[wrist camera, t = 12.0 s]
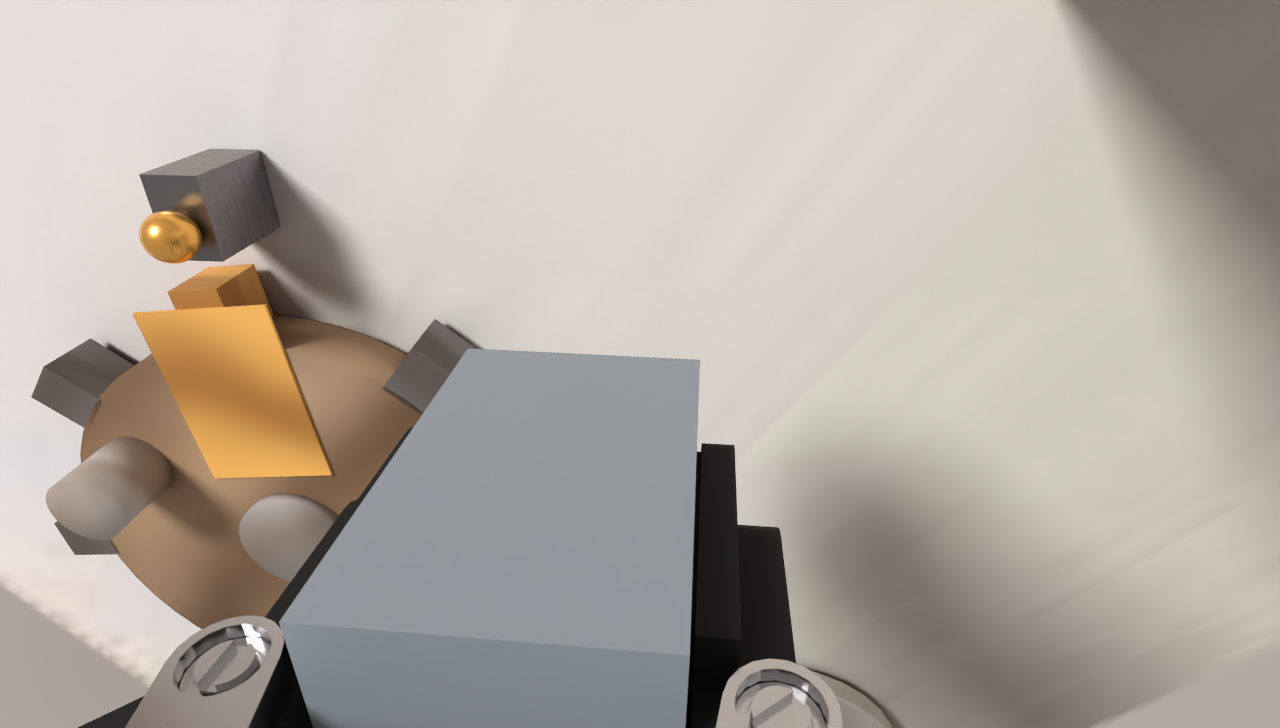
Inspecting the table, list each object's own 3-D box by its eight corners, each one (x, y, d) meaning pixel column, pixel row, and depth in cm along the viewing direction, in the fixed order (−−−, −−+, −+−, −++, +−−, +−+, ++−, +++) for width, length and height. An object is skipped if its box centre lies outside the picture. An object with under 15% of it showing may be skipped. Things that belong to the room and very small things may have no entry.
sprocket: (679, 491, 26) (673, 585, 22) (417, 720, 34) (379, 817, 30) (178, 137, 21) (56, 177, 17) (16, 506, 29) (-90, 589, 25)
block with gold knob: (279, 227, 22) (193, 279, 19) (231, 225, 22) (136, 277, 19) (259, 149, 21) (163, 189, 17) (209, 149, 21) (102, 187, 18)
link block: (686, 615, 15) (671, 976, 9) (497, 600, 15) (377, 941, 10) (699, 359, 12) (690, 664, 6) (468, 348, 12) (273, 630, 7)
